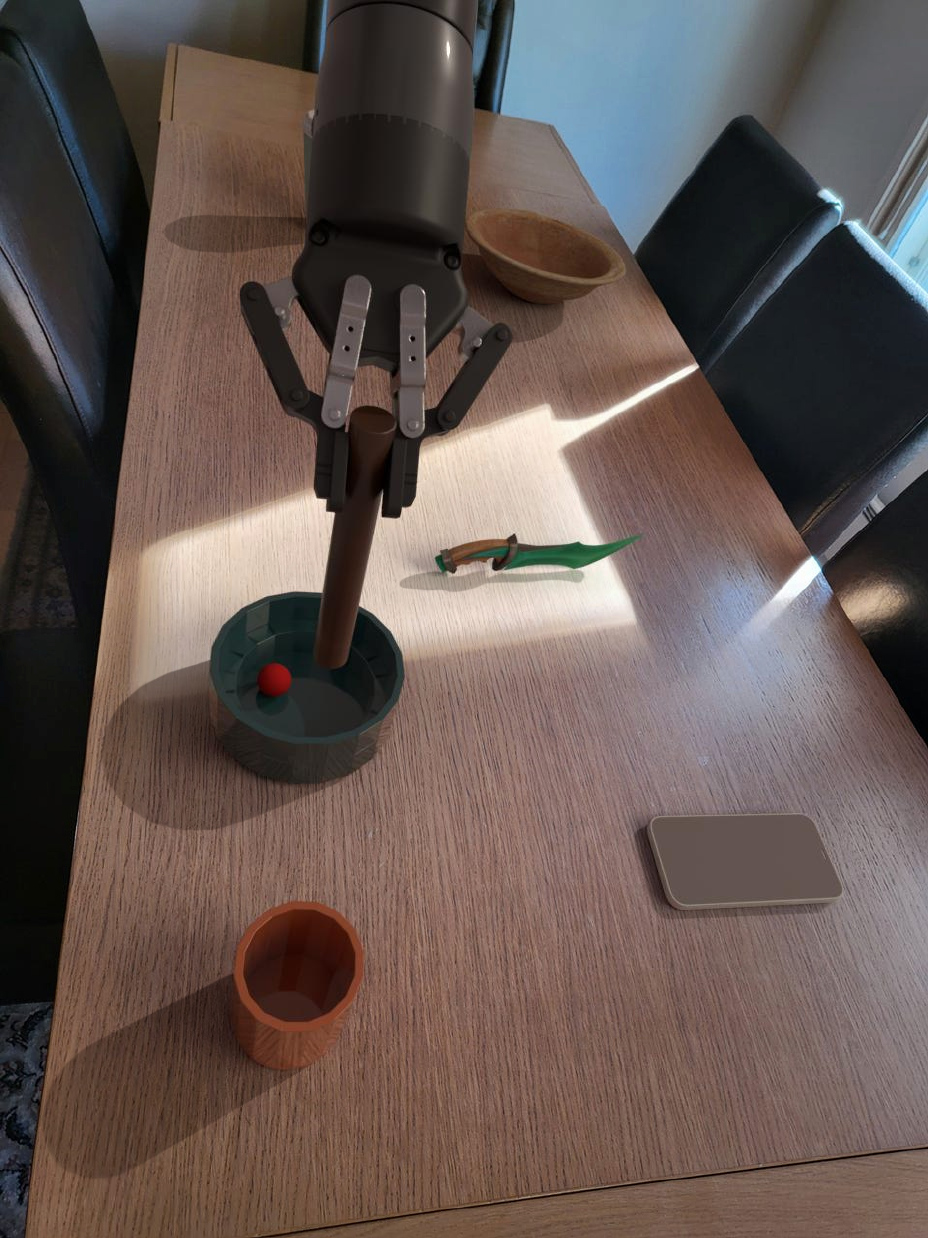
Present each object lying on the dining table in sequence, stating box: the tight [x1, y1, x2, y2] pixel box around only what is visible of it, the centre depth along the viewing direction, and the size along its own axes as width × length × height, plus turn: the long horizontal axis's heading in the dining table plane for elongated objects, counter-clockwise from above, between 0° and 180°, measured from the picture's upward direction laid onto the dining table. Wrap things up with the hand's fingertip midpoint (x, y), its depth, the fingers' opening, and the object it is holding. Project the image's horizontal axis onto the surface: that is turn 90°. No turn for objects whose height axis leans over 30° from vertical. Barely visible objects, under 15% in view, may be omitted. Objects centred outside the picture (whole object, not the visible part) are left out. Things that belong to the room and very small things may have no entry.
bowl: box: [464, 207, 627, 305], centre depth 120 cm, size 24×24×8 cm
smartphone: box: [646, 812, 844, 911], centre depth 65 cm, size 7×1×15 cm
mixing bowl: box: [208, 590, 406, 784], centre depth 64 cm, size 14×14×6 cm
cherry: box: [257, 663, 291, 697], centre depth 65 cm, size 3×3×3 cm
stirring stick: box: [313, 405, 396, 669], centre depth 45 cm, size 2×2×18 cm
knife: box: [434, 532, 646, 575], centre depth 81 cm, size 21×2×5 cm, turn 105°
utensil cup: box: [230, 900, 365, 1071], centre depth 48 cm, size 7×7×8 cm
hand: (363, 512), depth 40 cm, fingers closed on stirring stick, 2 cm apart
